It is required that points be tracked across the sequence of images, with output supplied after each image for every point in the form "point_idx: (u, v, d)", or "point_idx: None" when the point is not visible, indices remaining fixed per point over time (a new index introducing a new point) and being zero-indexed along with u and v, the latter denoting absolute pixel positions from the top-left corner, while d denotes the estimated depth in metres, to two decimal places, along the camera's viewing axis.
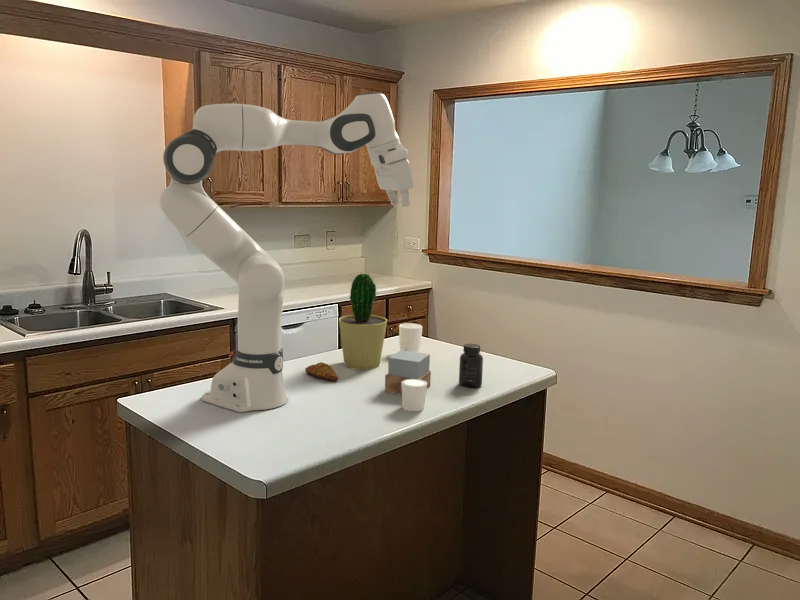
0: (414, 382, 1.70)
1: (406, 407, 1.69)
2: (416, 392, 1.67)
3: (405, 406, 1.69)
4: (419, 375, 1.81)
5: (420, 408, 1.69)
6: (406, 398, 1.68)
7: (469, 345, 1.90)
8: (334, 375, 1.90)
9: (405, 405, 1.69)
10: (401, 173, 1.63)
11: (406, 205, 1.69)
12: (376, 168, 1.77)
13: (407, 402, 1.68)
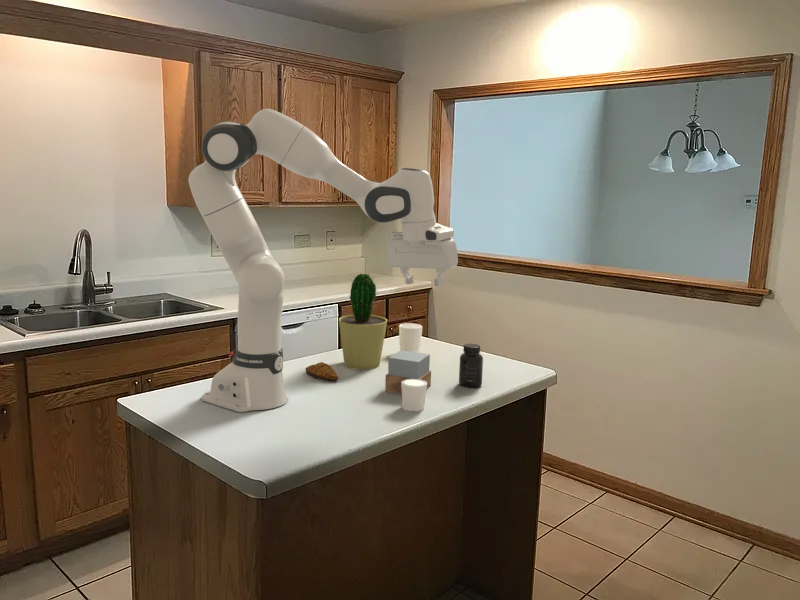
0: (414, 382, 1.70)
1: (406, 407, 1.69)
2: (416, 392, 1.67)
3: (405, 406, 1.69)
4: (419, 375, 1.81)
5: (420, 408, 1.69)
6: (406, 398, 1.68)
7: (469, 345, 1.90)
8: (334, 375, 1.90)
9: (405, 405, 1.69)
10: (451, 251, 1.62)
11: (440, 284, 1.66)
12: (396, 244, 1.70)
13: (407, 402, 1.68)
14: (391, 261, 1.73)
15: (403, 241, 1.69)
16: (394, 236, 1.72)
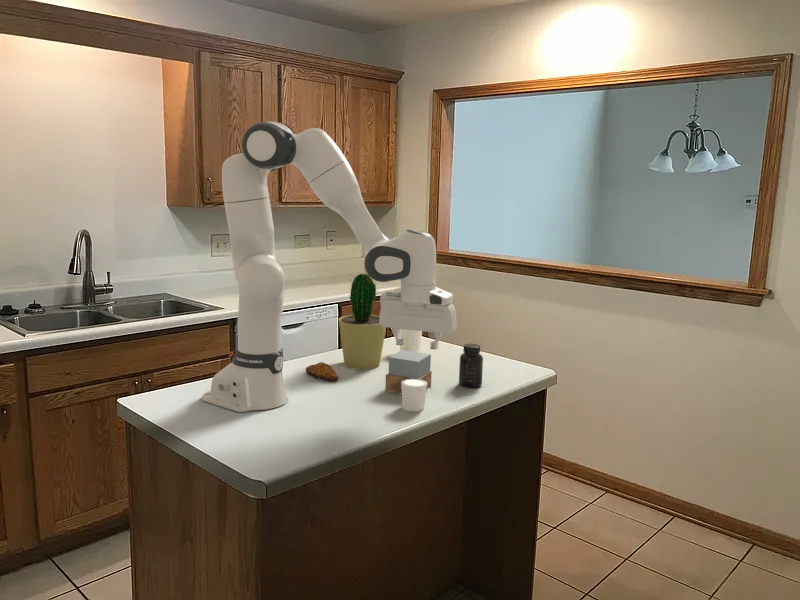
0: (414, 382, 1.70)
1: (406, 407, 1.69)
2: (416, 392, 1.67)
3: (405, 406, 1.69)
4: (419, 375, 1.81)
5: (420, 408, 1.69)
6: (406, 398, 1.68)
7: (469, 345, 1.90)
8: (334, 375, 1.90)
9: (405, 405, 1.69)
10: (453, 316, 1.63)
11: (436, 348, 1.66)
12: (391, 305, 1.67)
13: (407, 402, 1.68)
14: (383, 321, 1.69)
15: (400, 302, 1.66)
16: (387, 296, 1.69)
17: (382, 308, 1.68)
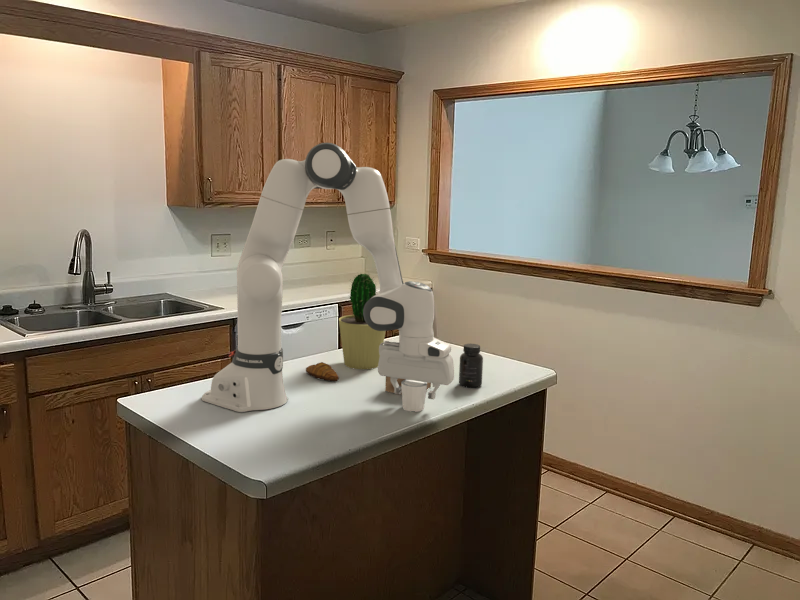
0: (414, 382, 1.70)
1: (406, 407, 1.69)
2: (416, 392, 1.67)
3: (405, 406, 1.69)
4: None
5: (420, 408, 1.69)
6: (406, 398, 1.68)
7: (469, 345, 1.90)
8: (334, 375, 1.90)
9: (405, 405, 1.69)
10: (451, 368, 1.65)
11: (434, 397, 1.69)
12: (390, 355, 1.70)
13: (407, 402, 1.68)
14: (381, 370, 1.71)
15: (398, 353, 1.69)
16: (386, 345, 1.71)
17: (381, 358, 1.71)
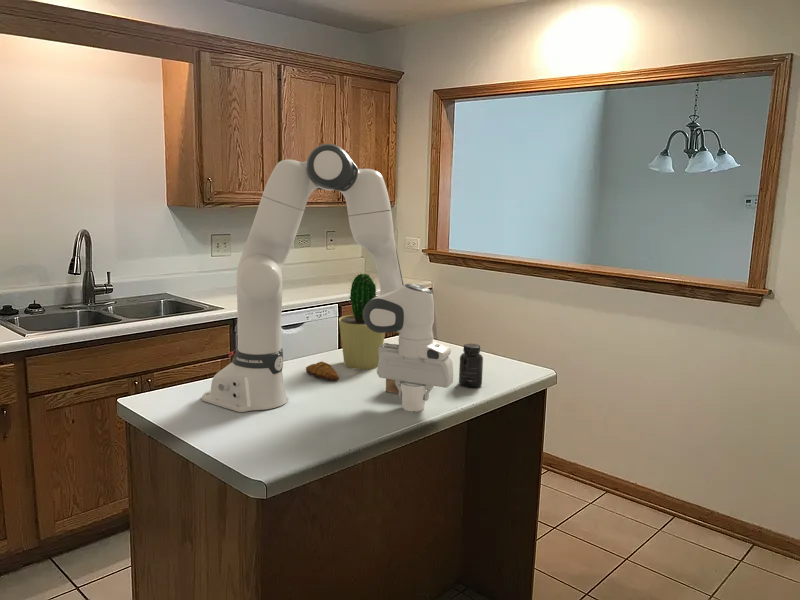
0: None
1: (406, 407, 1.69)
2: (416, 392, 1.67)
3: (405, 406, 1.69)
4: None
5: (420, 408, 1.69)
6: (406, 398, 1.68)
7: (469, 345, 1.90)
8: (334, 374, 1.90)
9: (405, 405, 1.69)
10: (450, 370, 1.65)
11: (427, 399, 1.69)
12: (389, 357, 1.70)
13: (407, 402, 1.68)
14: (381, 372, 1.71)
15: (398, 355, 1.69)
16: (386, 347, 1.71)
17: (380, 359, 1.71)
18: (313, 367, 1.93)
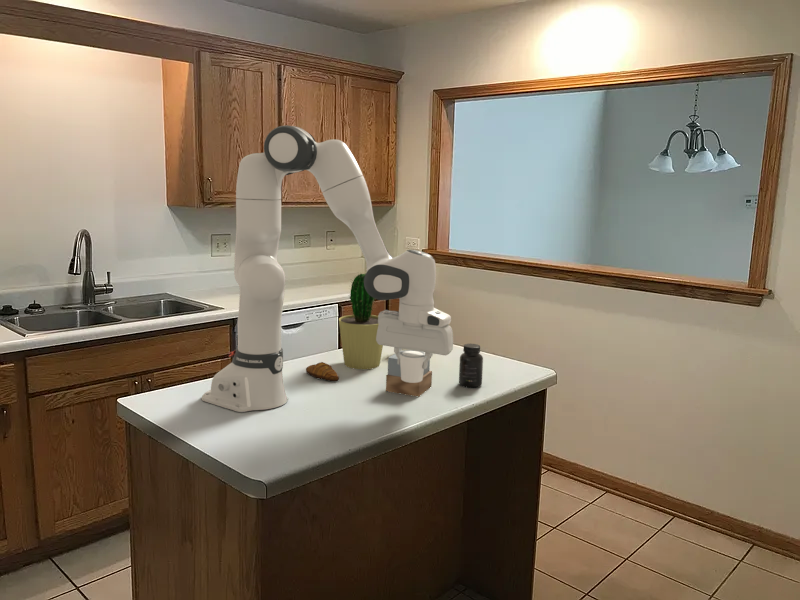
0: (413, 353, 1.69)
1: (404, 378, 1.68)
2: (414, 363, 1.66)
3: (403, 377, 1.68)
4: None
5: (418, 379, 1.68)
6: (404, 369, 1.67)
7: (469, 345, 1.90)
8: (335, 375, 1.90)
9: (403, 376, 1.68)
10: (450, 338, 1.63)
11: (426, 367, 1.67)
12: (389, 323, 1.68)
13: (405, 373, 1.67)
14: (380, 339, 1.69)
15: (398, 321, 1.67)
16: (385, 314, 1.70)
17: (379, 326, 1.69)
18: (313, 368, 1.93)
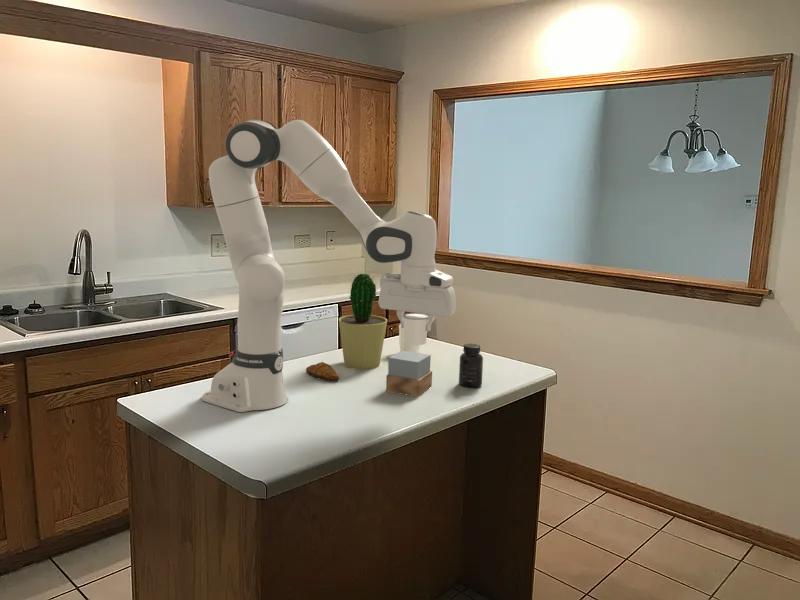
0: (416, 316, 1.68)
1: (408, 341, 1.67)
2: (418, 325, 1.65)
3: (407, 340, 1.67)
4: (418, 375, 1.81)
5: (422, 342, 1.67)
6: (408, 332, 1.66)
7: (469, 345, 1.90)
8: (335, 375, 1.90)
9: (407, 339, 1.67)
10: (452, 299, 1.63)
11: (429, 329, 1.67)
12: (391, 286, 1.67)
13: (409, 336, 1.66)
14: (382, 303, 1.69)
15: (400, 284, 1.66)
16: (387, 277, 1.69)
17: (382, 290, 1.68)
18: (313, 368, 1.93)
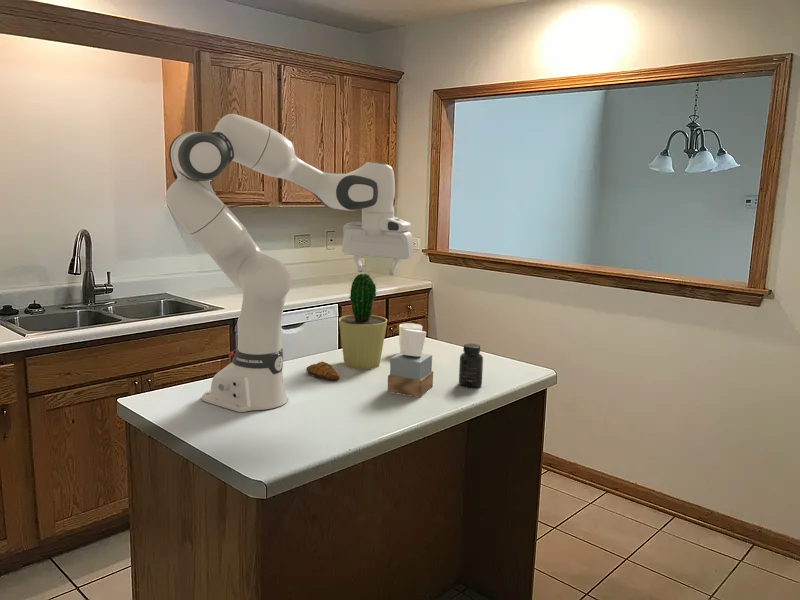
0: (414, 330, 1.84)
1: (403, 351, 1.83)
2: (413, 337, 1.81)
3: (403, 350, 1.83)
4: (421, 376, 1.80)
5: (416, 353, 1.82)
6: (404, 342, 1.82)
7: (469, 345, 1.90)
8: (335, 374, 1.91)
9: (403, 349, 1.83)
10: (410, 243, 1.75)
11: (394, 273, 1.78)
12: (353, 233, 1.79)
13: (405, 346, 1.82)
14: (345, 249, 1.80)
15: (361, 230, 1.78)
16: (350, 225, 1.81)
17: (345, 236, 1.80)
18: (314, 367, 1.93)
